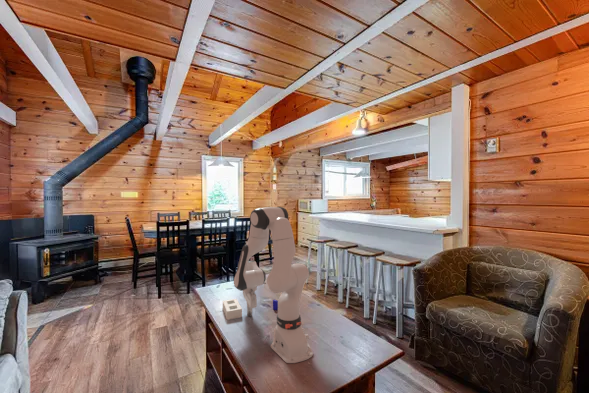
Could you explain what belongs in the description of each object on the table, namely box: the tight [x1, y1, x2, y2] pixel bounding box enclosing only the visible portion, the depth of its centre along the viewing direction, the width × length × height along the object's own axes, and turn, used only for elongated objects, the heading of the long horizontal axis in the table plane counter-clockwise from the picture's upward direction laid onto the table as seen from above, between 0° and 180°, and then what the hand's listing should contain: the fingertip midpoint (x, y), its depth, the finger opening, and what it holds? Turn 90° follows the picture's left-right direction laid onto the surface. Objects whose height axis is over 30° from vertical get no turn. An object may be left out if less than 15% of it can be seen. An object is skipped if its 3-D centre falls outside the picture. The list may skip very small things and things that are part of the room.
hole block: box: [222, 298, 243, 321], centre depth 161 cm, size 16×9×5 cm, turn 24°
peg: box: [246, 302, 253, 317], centre depth 157 cm, size 3×3×10 cm
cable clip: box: [272, 299, 278, 311], centre depth 171 cm, size 12×4×6 cm, turn 143°
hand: (249, 309), depth 157 cm, fingers closed on peg, 3 cm apart
